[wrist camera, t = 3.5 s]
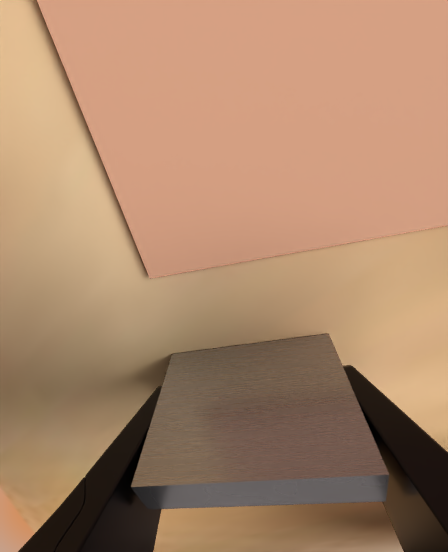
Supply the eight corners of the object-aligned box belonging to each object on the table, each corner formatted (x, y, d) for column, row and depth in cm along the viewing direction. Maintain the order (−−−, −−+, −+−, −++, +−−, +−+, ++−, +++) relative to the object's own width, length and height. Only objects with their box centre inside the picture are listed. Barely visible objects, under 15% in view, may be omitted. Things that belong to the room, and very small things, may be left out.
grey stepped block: (328, 333, 10) (389, 474, 6) (332, 404, 11) (380, 548, 8) (172, 353, 11) (131, 487, 7) (198, 416, 12) (178, 550, 8)
